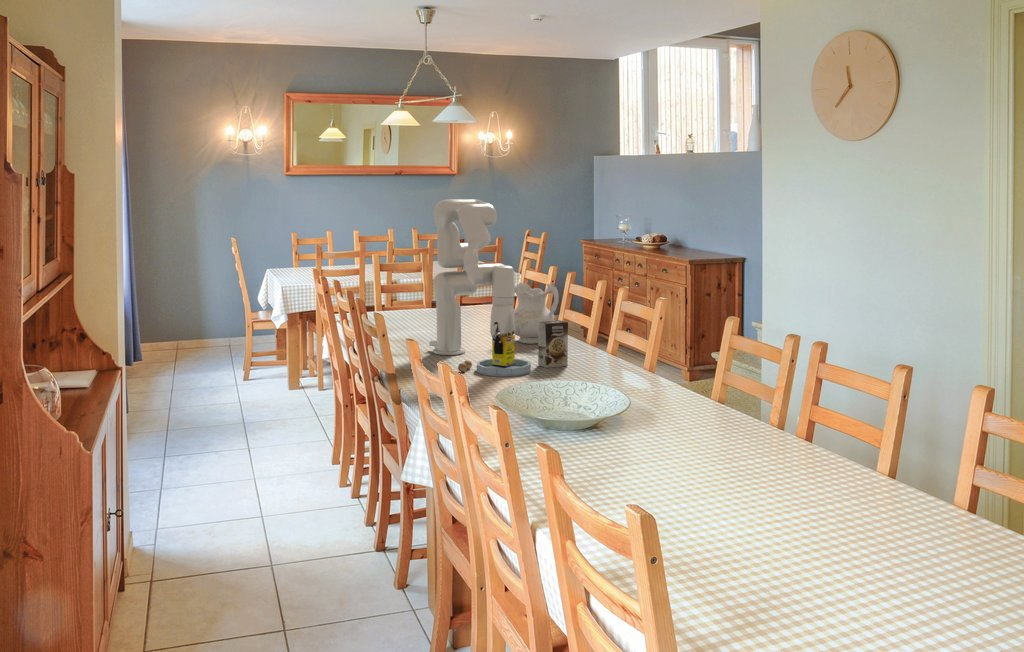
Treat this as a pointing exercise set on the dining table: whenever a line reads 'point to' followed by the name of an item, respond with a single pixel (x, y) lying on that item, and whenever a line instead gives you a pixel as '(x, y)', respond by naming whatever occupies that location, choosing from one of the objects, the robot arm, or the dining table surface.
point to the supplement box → (505, 352)
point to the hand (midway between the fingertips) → (503, 351)
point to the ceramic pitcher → (532, 311)
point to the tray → (516, 370)
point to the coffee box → (553, 344)
